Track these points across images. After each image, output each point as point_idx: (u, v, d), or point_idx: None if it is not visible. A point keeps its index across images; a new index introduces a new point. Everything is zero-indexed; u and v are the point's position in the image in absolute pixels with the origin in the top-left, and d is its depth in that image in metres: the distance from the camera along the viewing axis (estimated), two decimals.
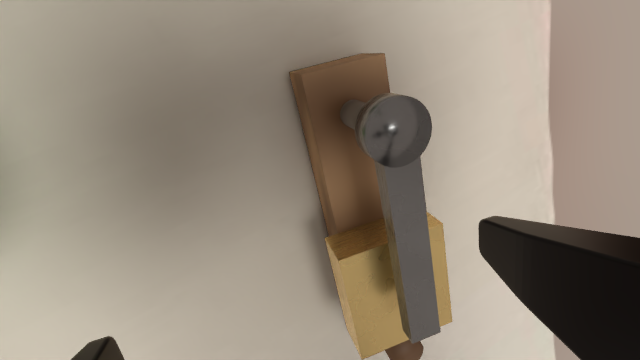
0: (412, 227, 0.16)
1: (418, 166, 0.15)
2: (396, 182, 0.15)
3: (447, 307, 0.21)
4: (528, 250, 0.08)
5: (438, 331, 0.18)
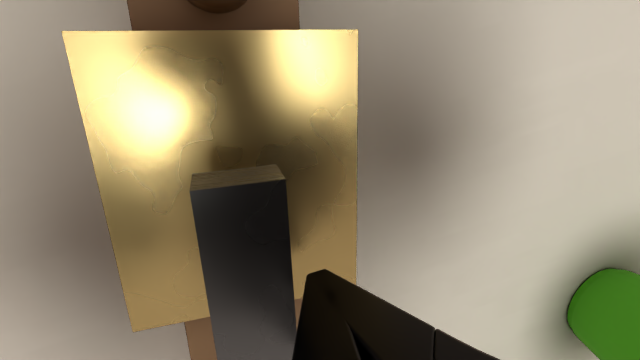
0: None
1: None
2: None
3: (89, 96, 0.07)
4: None
5: (197, 195, 0.06)
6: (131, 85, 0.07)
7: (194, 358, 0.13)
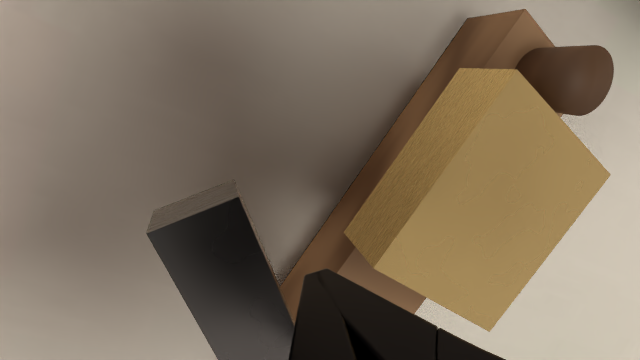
0: None
1: None
2: None
3: (495, 110, 0.10)
4: None
5: (155, 235, 0.06)
6: (514, 120, 0.11)
7: None
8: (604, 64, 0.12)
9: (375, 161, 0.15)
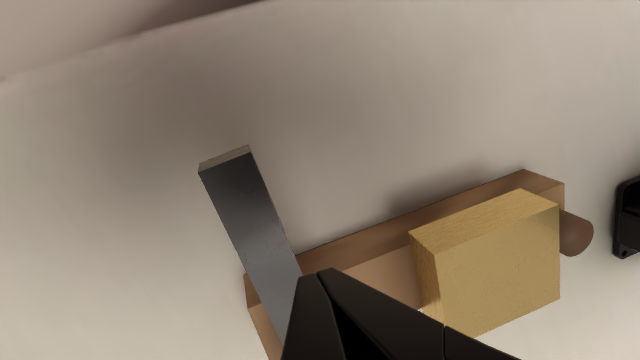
0: None
1: None
2: None
3: (538, 216, 0.18)
4: (336, 316, 0.07)
5: (202, 173, 0.10)
6: (542, 229, 0.18)
7: (350, 270, 0.19)
8: (588, 236, 0.20)
9: (431, 209, 0.22)
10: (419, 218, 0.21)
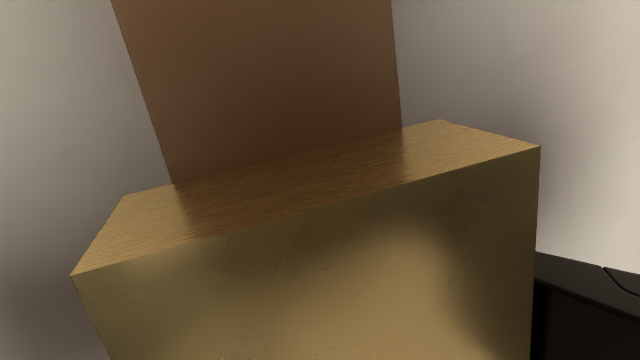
0: None
1: None
2: None
3: None
4: None
5: None
6: None
7: None
8: None
9: None
10: None
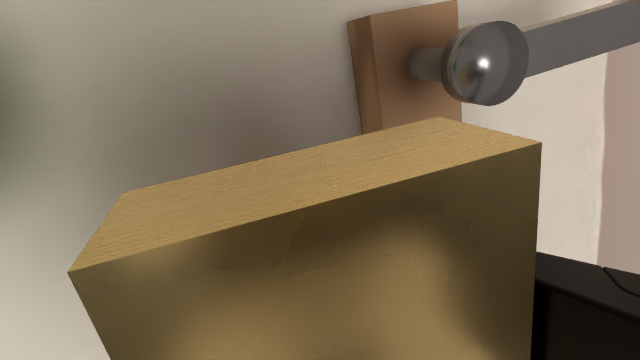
0: (594, 33, 0.13)
1: (532, 32, 0.13)
2: (541, 61, 0.13)
3: None
4: None
5: None
6: None
7: (459, 116, 0.19)
8: None
9: None
10: None
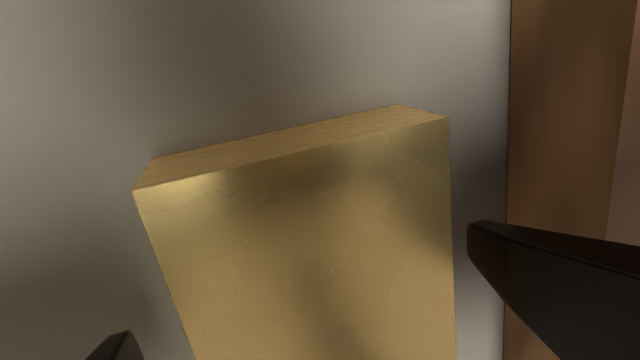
0: None
1: None
2: None
3: (448, 340, 0.09)
4: (514, 255, 0.08)
5: None
6: (419, 357, 0.09)
7: None
8: None
9: None
10: None
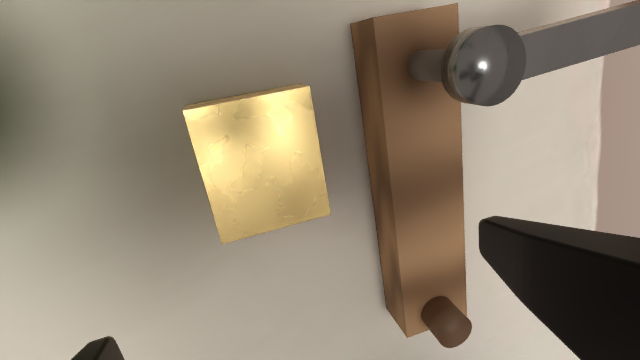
0: (588, 37, 0.14)
1: (530, 36, 0.13)
2: (538, 63, 0.14)
3: (323, 195, 0.19)
4: (528, 250, 0.08)
5: None
6: (309, 202, 0.19)
7: (459, 116, 0.19)
8: (453, 343, 0.21)
9: None
10: None
